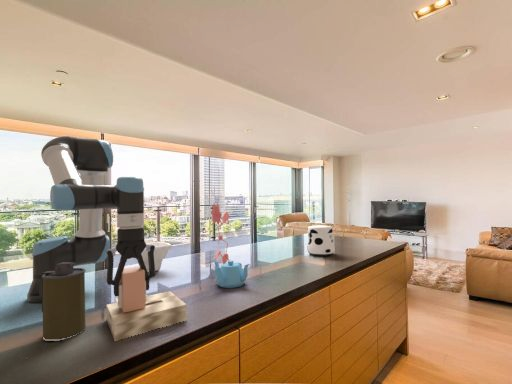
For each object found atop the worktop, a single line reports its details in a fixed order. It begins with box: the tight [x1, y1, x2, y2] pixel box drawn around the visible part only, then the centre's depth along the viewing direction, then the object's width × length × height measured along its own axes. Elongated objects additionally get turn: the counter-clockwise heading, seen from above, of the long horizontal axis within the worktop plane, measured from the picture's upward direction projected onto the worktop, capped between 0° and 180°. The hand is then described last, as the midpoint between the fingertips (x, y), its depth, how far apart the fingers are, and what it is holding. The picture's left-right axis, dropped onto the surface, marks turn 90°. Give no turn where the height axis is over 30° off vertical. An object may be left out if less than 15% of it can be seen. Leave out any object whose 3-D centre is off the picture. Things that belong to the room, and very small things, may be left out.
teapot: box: [212, 258, 251, 289], centre depth 121 cm, size 15×15×10 cm
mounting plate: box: [106, 290, 188, 342], centre depth 86 cm, size 20×16×5 cm
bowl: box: [134, 241, 172, 273], centre depth 147 cm, size 19×19×14 cm
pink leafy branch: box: [207, 203, 231, 268], centre depth 161 cm, size 15×26×35 cm, turn 32°
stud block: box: [120, 265, 146, 313], centre depth 84 cm, size 6×7×14 cm
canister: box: [41, 262, 87, 339], centre depth 80 cm, size 11×10×20 cm
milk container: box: [306, 224, 336, 257], centre depth 178 cm, size 17×17×18 cm
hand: (132, 303), depth 84 cm, fingers closed on stud block, 6 cm apart
